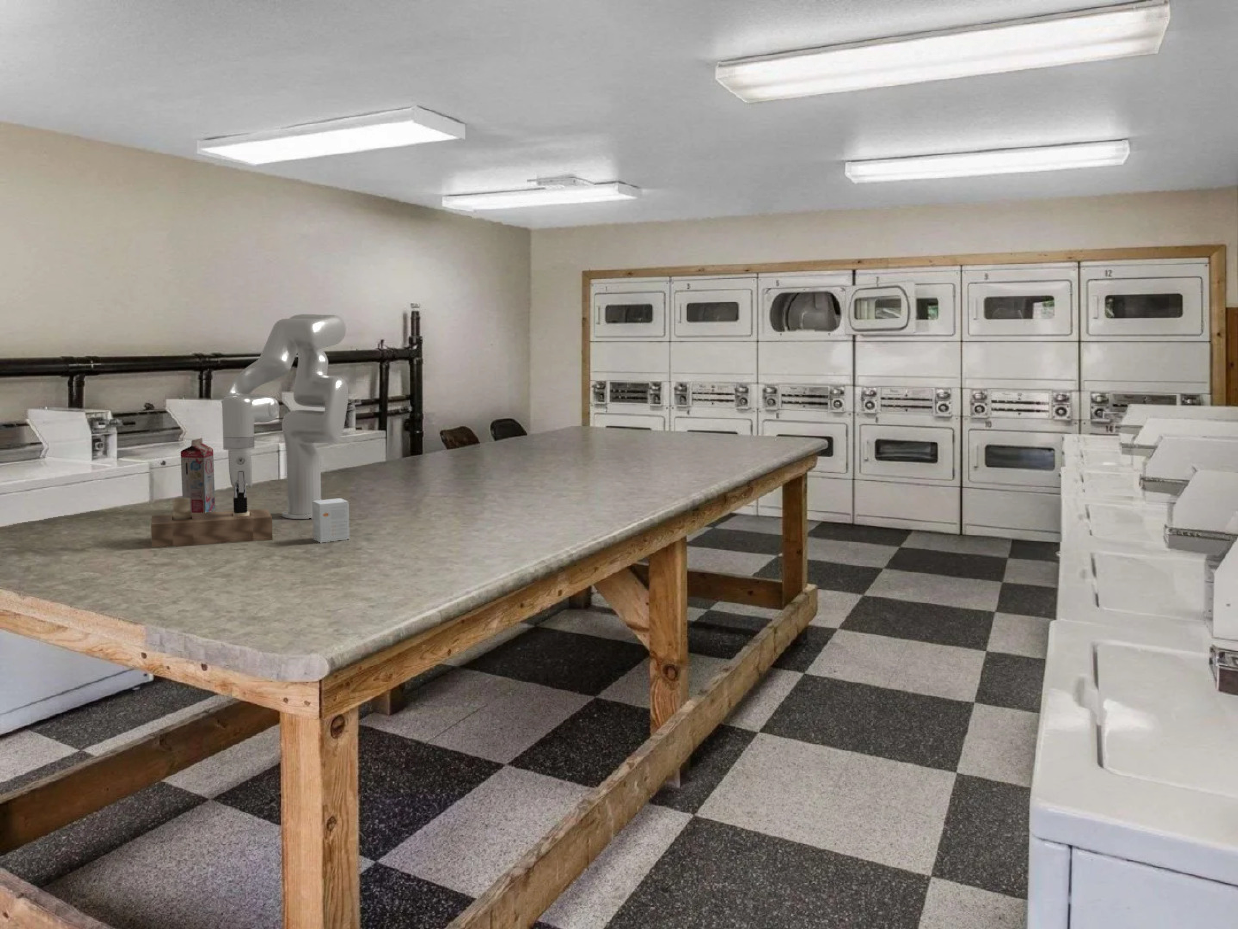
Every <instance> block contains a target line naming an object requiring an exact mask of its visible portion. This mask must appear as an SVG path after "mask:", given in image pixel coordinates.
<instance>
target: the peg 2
mask: <svg viewBox="0 0 1238 929" xmlns="http://www.w3.org/2000/svg"><path fill="white" fill-rule="evenodd" d="M239 516H250V515H249V511H247V513H234V512H233V517H239Z"/></svg>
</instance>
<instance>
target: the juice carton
mask: <svg viewBox="0 0 1238 929" xmlns="http://www.w3.org/2000/svg"><path fill="white" fill-rule="evenodd" d="M190 444H191V445H190V446H188V447H187V448H184V449H182V450H181V451H180V466H181V467H180V470H181V471H180V472H181V493H182V494H181V495H182V497H181V498H190V510H191V513H205V511H206V512H210V511H212V510H214V509H215V510H216V494H215V492H216V490H215V489H216V488H215V464H214V462H215V461H214V458H215V457H214V449H213V448H212V447H210V446H208V445H207V444H205V443H203V438H202V437H201V438H196V439H193V440H191V443H190ZM215 510H214V511H215ZM212 512H213V511H212Z"/></svg>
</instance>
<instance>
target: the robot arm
mask: <svg viewBox="0 0 1238 929" xmlns="http://www.w3.org/2000/svg"><path fill="white" fill-rule="evenodd" d="M346 332H347V331H346V323H345V322H344V320H343V319H342V318H341V317H340V316H339V315H335V314H315V313H313V314H312V313H308V314H307V313H305V314H304V313H303V314H295V315H292V316H290V317H289V318H282V319H279V320H277V321H276V322H275V323H274V324H273V327H272V329H271V331H270V333H269V335H268V337H267V340H266V342H265V343H264V344H265V345H264V346H263V349H262V351H261V353H260V356H259V358H258V359H256V361H254V362H253V363H251V364H250V365H248V366H247V367H246V368H244V369H243V370H241V371H240V372H239V373H238V374H237V375H236V376H235V377H234V379H232V381H231V382H230V385H229V387H228V389H227V390H226V394H225V396H224V398H223V399H222V401H221V408H222V409H221V411H222V412H221V414H222V416H221V417H222V418H221V419H222V447H223V448H222V449H223V450H225V451H228V473H229V480H230V485H231V487H233V501H232V502H233V511H234V513H247V510H248V497H247V486H248V487H249V488H252V487H253V469H252V468H253V467H252V466H253V465H252V454H251V453H252V452H251V451H252V450H255V423H259V424H260V423H263V424H265V423H270V422H273V421H274V420H276V418H277V417H278V416H279V413H280V409H281V408H280V404H279V402H278V400H277V399H276V398H275V397H273V396H270V395H267V394H255V393H252V392H253V391H254V390H256V389H258V388H259V387H261V386H262V385H264V384H265V385H266V384H267V383H271V382H273V381H277V380H278V379H282V378H283V377H285V376H287V375H288V374H289V373H290V371H291V368H292V367H293V364H294V361H295V359H296V357H297V356H298V357H297V358H298V359H297V360H298V362H297V369H296V375H295V380H294V386H293V395H292V396H293V400H294V402H295V403H296V404H297V405H299V406H301V407H305V408H306V407H307V408H308V407H309V408H324V410H312V409H311V410H310V409H309V410H307V409H295V410H290V411H288V412H287V413H286V414H285V415H284V416H283V418H282V420H281V431H282V434H283V440H284V443H285V444H284V445H285V454H286V457H285V458H286V460H285V461H286V486H287V487H286V491H287V492H286V498H287V509H285V510H283V511H282V512H281V516H282V517H283V518H286V519H291V520H292V519H293V520H308V519H309V518H311V519H312V501H316V500H323V499H322V480H321V479H322V476H321V475H322V472H321V471H322V470H321V468H322V467H321V455H320V452H319V450H318V448H317V447H316V445H315V444H328V445H330V444H336V443H337V442H339V441H340V440H341V438H342V436H343V433H344V428H345V424H346V423H345V422H346V421H345V420H346V416H347V409H348V404H349V398H350V397H349V392H350V391H349V387H348V384H347V382H346V381H345V379H344V378H343V377H340V376H337V375H328V368H329V359H328V356H327V355H326V353H325V351H324V349H325V348H328V347H329V348H330V347H333V346H335V345H336V346H337V345H339V344H340V343H341V342H342V341H343V340H344V338H345V337H346Z"/></svg>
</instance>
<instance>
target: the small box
mask: <svg viewBox="0 0 1238 929" xmlns="http://www.w3.org/2000/svg"><path fill="white" fill-rule="evenodd" d="M349 503H350V502H349V501H348V500H346V499H343V498H341V497H340V498H339V497H338V498H329V499H328V498H327V499H322V500H316V501H312V518H311V520H312V539H313V540H314V541H316V540H317V541H318V542H317V541H316V542H317V543H319V542H320V544H323V543H322V542H326V543H331V542H330V541H334V542H338V541H337V540H342V541H348V540H347V539H349V540H350V514H349V513H350V508H349V507H350V506H349Z"/></svg>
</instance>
